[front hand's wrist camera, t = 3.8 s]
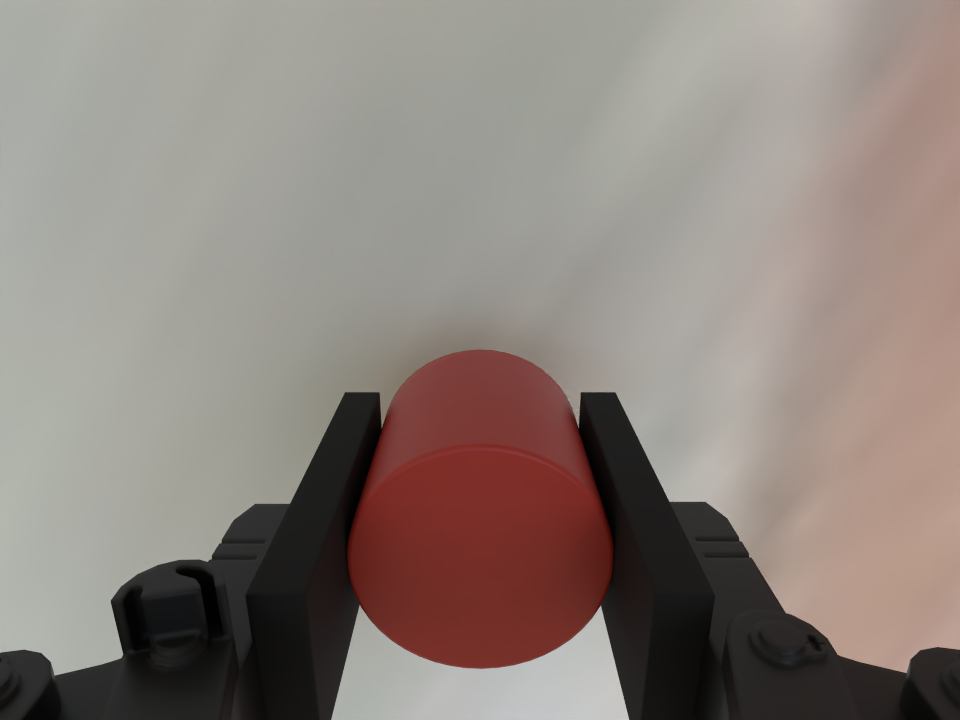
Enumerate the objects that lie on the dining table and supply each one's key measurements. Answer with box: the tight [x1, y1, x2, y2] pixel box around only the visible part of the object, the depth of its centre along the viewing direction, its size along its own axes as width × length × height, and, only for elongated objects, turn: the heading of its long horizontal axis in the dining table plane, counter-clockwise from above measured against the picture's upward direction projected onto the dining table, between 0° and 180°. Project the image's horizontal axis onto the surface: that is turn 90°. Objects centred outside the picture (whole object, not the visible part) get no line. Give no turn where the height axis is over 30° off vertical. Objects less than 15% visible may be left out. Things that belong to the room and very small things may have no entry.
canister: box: [346, 350, 614, 669], centre depth 13 cm, size 4×4×4 cm
